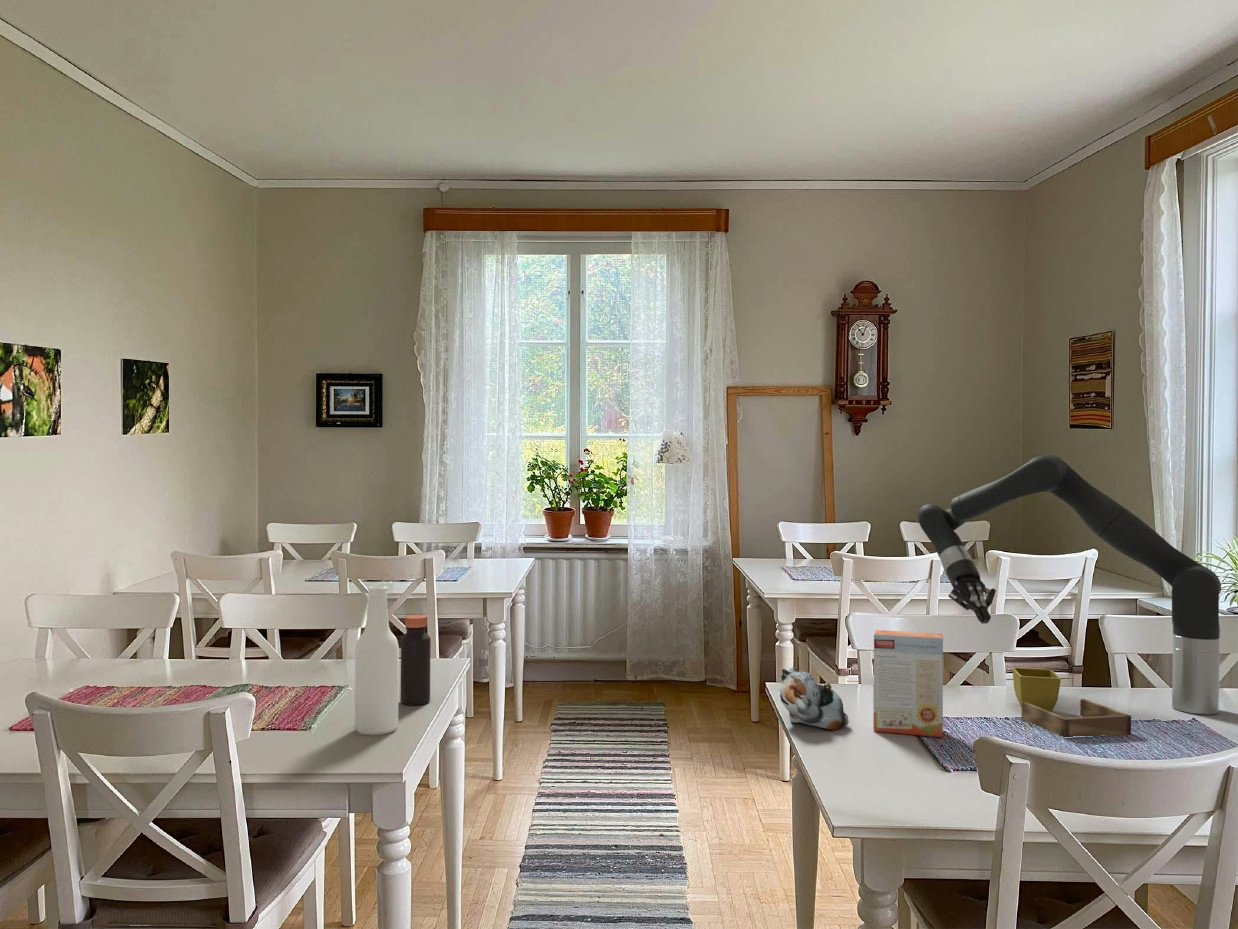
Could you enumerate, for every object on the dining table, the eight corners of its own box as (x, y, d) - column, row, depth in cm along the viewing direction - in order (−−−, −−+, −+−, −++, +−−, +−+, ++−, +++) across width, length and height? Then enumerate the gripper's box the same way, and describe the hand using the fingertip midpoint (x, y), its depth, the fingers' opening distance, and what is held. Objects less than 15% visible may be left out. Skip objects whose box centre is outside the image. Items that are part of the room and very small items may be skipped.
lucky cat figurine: (854, 732, 194) (830, 678, 191) (800, 752, 196) (776, 698, 193) (840, 695, 209) (818, 644, 205) (790, 713, 210) (767, 663, 207)
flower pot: (1061, 718, 208) (1061, 678, 208) (1019, 715, 209) (1020, 675, 209) (1050, 707, 216) (1051, 669, 216) (1011, 705, 218) (1011, 667, 218)
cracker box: (942, 731, 197) (943, 632, 196) (942, 739, 191) (943, 637, 191) (874, 724, 201) (875, 628, 201) (872, 732, 195) (873, 633, 195)
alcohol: (384, 721, 200) (385, 582, 200) (406, 730, 193) (407, 587, 193) (346, 729, 194) (348, 586, 193) (368, 738, 187) (369, 591, 187)
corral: (1021, 720, 205) (1021, 702, 205) (1084, 716, 209) (1084, 699, 209) (1064, 739, 192) (1065, 719, 192) (1131, 734, 195) (1131, 715, 195)
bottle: (426, 706, 212) (427, 619, 212) (397, 706, 212) (397, 619, 212) (432, 698, 219) (433, 614, 219) (404, 698, 219) (405, 614, 219)
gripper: (942, 558, 239) (969, 613, 227) (987, 557, 242) (1016, 612, 230) (930, 576, 244) (956, 631, 232) (975, 575, 247) (1002, 629, 235)
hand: (986, 621), depth 231 cm, fingers closed
